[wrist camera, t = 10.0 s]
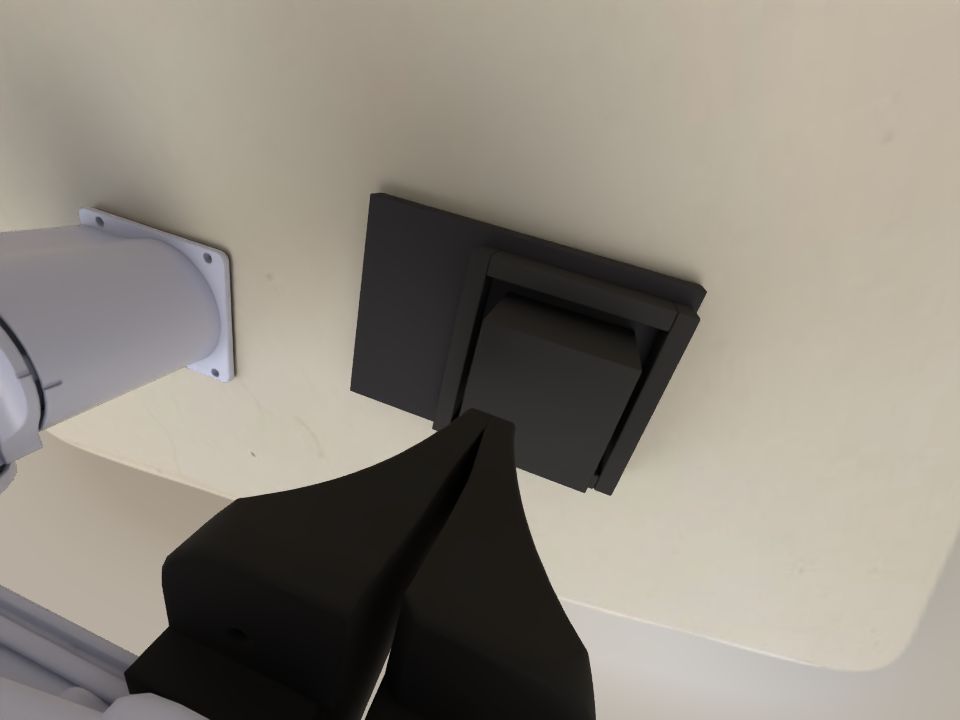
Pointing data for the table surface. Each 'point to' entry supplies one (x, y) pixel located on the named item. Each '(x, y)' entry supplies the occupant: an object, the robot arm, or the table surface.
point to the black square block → (553, 384)
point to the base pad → (472, 296)
